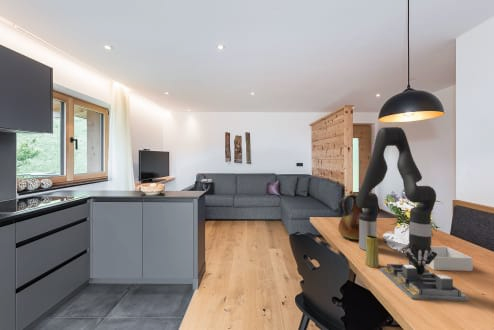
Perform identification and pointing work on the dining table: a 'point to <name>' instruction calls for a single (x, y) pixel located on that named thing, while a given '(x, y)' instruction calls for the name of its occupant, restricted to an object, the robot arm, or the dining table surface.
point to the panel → (421, 285)
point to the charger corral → (450, 260)
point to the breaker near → (444, 282)
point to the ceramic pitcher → (350, 220)
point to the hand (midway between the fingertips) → (419, 273)
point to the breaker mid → (409, 271)
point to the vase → (372, 251)
